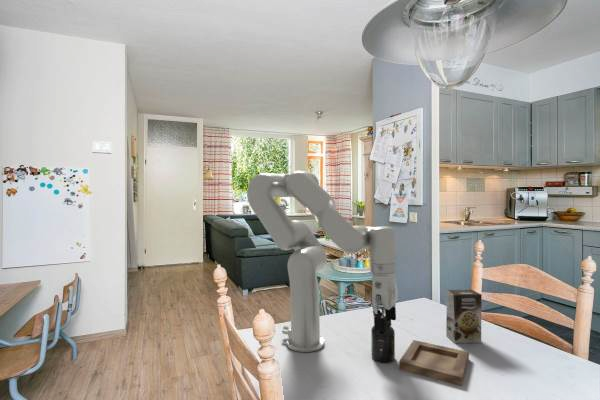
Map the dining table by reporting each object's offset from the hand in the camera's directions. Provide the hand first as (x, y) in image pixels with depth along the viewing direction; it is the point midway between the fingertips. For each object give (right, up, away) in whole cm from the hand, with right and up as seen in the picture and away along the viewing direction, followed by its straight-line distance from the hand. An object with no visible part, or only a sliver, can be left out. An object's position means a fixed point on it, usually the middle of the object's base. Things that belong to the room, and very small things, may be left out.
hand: (385, 324), depth 101 cm
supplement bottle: (-1, -10, +1) cm, 10 cm away
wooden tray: (+13, -10, -4) cm, 17 cm away
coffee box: (+29, -10, +12) cm, 33 cm away
